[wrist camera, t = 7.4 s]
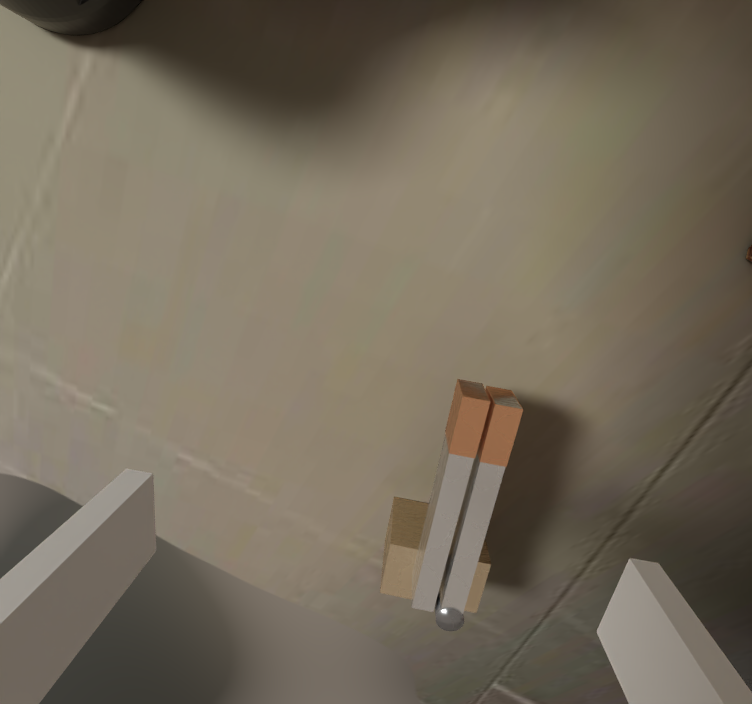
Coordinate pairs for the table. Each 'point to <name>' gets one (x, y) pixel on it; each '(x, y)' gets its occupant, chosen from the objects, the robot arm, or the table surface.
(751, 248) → the bread
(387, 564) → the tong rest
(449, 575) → the tong arm
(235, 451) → the table surface
